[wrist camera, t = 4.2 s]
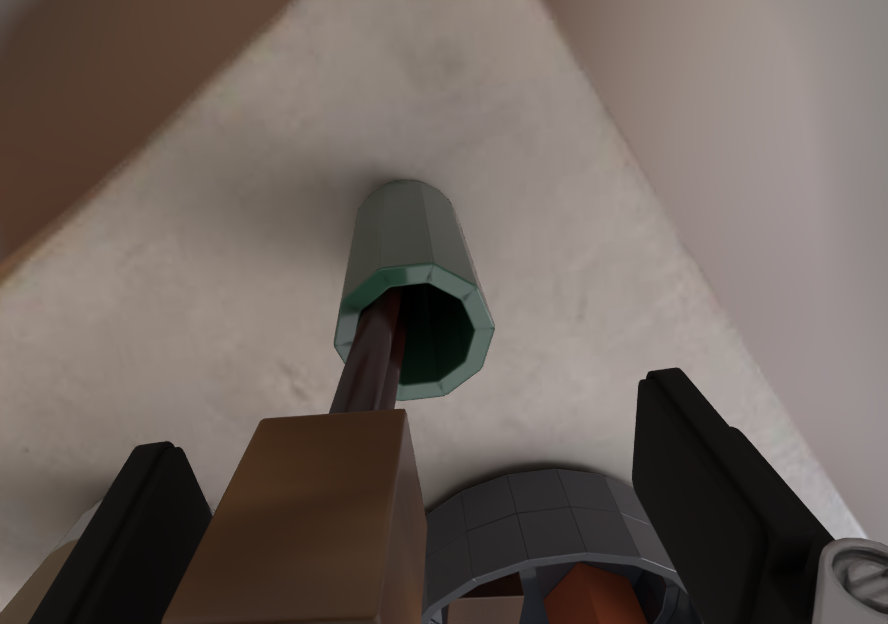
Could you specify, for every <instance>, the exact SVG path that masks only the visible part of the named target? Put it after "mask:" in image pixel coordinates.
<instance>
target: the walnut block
mask: <svg viewBox="0 0 888 624" xmlns="http://www.w3.org/2000/svg"><path fill="white" fill-rule="evenodd" d="M524 596H525V595H524V591H523V587H522V582H521V578H520V574H519V571H518V572H516V573H513V574H510V575H507V576H504V577H501V578H498V579H495V580H492V581H489V582H486V583H483V584H481V585H478V586H477V587H475V588H474V589H472V590H470V591H469V592H467V593H465V594H464V595H462V596H461V597H459V598H457V599H456V600H454V601H453V602H451V603H449V604H448V605H446V606H444V607H443V608H441V614H442V624H519V621H520V616H521V611H522V606H523V601H524Z"/></svg>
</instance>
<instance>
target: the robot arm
mask: <svg viewBox="0 0 888 624" xmlns="http://www.w3.org/2000/svg"><path fill="white" fill-rule="evenodd" d="M632 482H633V487H634V490H635V493H636V495H637V497H638V499H639V501H640V503H641V505H642V507H643V509H644V511H645V513H646V515H647V516H648V518H649V520H650V522H651V524H652V526H653V528H654V530H655V532H656V534H657V536H658V537H659V539H660V541H661V543H662V545H663V547H664V549H665V551H666V553H667V555H668V557H669V558H670V560H671V562H672V564H673V566H674V568H675V570H676V572H677V574H678V576H679V578H680V579H681V581H682V583H683V585H684V587H685V589H686V591H687V593H688V595H689V597H690V599H691V600H692V602H693V604H694V606H695V608H696V610H697V612H698V614H699V616H700V618H701V620H702V621H703V623H704V624H888V546H886V545H884V544H882V543H879V542H875V541H871V540H867V539H863V538H842V539H838V540H835V539H834V538H833V537H832V536H831V535H830V533H829V532H828V531H827V530H826V529H825V528H824V527H823V525H822V524H821V523H820V522H819V521H818V520H817V518H816V517H815V516H814V515H813V514H812V513H811V511H810V510H809V509H808V508H807V507H806V506H805V505H804V503H803V502H802V501H801V500H800V499H799V498H798V496H797V495H796V494H795V493H794V492H793V491H792V490H791V488H790V487H789V486H788V485H787V484H786V483H785V481H784V480H783V479H782V478H781V477H780V476H779V474H778V473H777V472H776V471H775V470H774V469H773V468H772V466H771V465H770V464H769V463H768V462H767V461H766V459H765V458H764V457H763V456H762V455H761V454H760V453H759V451H758V450H757V449H756V448H755V447H754V446H753V444H752V443H751V442H750V441H749V440H748V439H747V437H746V436H745V435H744V434H743V433H742V432H741V431H740V430H738V429H737V428H734V427H729V425H728V424H727V423H726V422H725V421H724V419H723V418H722V417H721V416H720V415H719V414H718V412H717V411H716V410H715V409H714V408H713V406H712V405H711V404H710V403H709V402H708V401H707V399H706V398H705V397H704V396H703V395H702V393H701V392H700V391H699V390H698V389H697V388H696V386H695V385H694V384H693V383H692V382H691V380H690V379H689V378H688V377H687V376H686V375H685V373H684V372H683V371H682V370H681V369H680V368H669V369H662V370H655V371H650V372H648V374H647V376H646V379H643V380H640V382H639V385H638V397H637V412H636V426H635V440H634V455H633V469H632ZM212 517H213V515H212V513H211V511H210V509H209V506H208V504H207V502H206V500H205V497H204V495H203V493H202V491H201V488H200V486H199V484H198V482H197V479H196V477H195V475H194V473H193V471H192V468H191V466H190V464H189V462H188V459H187V457H186V455H185V453H184V451H183V449H182V448H180V447H175V446H174V445H173V444H172V443H171V442H169V441H165V442H158V443H151V444H144V445H139V446H137V447H135V449H134V450H133V451H132V453H131V454H130V456H129V458H128V459H127V461H126V463H125V464H124V466H123V467H122V469H121V471H120V472H119V474H118V476H117V477H116V479H115V481H114V482H113V484H112V486H111V487H110V489H109V491H108V492H107V494H106V496H105V497H104V499H103V500H102V502H101V504H100V505H99V507H98V509H97V510H96V512H95V514H94V515H93V517H92V519H91V520H90V522H89V524H88V525H87V527H86V528H85V530H84V532H83V533H82V535H81V537H80V538H79V540H78V542H77V543H76V545H75V547H74V548H73V550H72V552H71V553H70V555H69V556H68V558H67V560H66V561H65V563H64V565H63V566H62V568H61V570H60V571H59V573H58V575H57V576H56V578H55V580H54V581H53V583H52V584H51V586H50V588H49V589H48V591H47V593H46V594H45V596H44V598H43V599H42V601H41V603H40V604H39V606H38V608H37V609H36V611H35V613H34V614H33V616H32V617H31V619H30V621H29V622H28V624H161V622H162V618H163V616H164V614H165V612H166V610H167V608H168V606H169V604H170V602H171V600H172V598H173V596H174V594H175V592H176V590H177V588H178V586H179V584H180V582H181V580H182V578H183V576H184V574H185V572H186V570H187V568H188V566H189V564H190V562H191V560H192V558H193V556H194V554H195V551H196V549H197V547H198V545H199V543H200V541H201V539H202V537H203V535H204V533H205V531H206V529H207V527H208V525H209V523H210V521H211V519H212Z"/></svg>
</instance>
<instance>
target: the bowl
mask: <svg viewBox="0 0 888 624" xmlns="http://www.w3.org/2000/svg"><path fill="white" fill-rule="evenodd" d="M425 516H426V522H427V538H426V553H425V568H424V583H423V597H422V612H421V624H442V614H441V608H443V607H444V606H446V605H448V604H449V603H451V602H453V601H454V600H456V599H457V598H459V597H461V596H462V595H464V594H465V593H467V592H469V591H470V590H472V589H474V588H475V587H477V586H478V585H481V584H483V583H486V582H489V581H492V580H495V579H498V578H501V577H504V576H507V575H510V574H513V573H516V572H518V571H519V574H520V578H521V582H522V587H523V591H524V595H525V596H524V601H523V606H522V611H521V616H520V621H519V624H549V621H548V617H547V613H546V610H545V606H544V602H543V600H544V599H545V598H546V597H547V596H548V594H549V593H550V592H551V591H552V590H553V589H554V588H555V587H556V586H557V585H558V583H559V582H560V581H561V580H562V579H563V578H564V577H565V576H566V575H567V574H568V573H569V571H570V570H571V569H572V568H573V567H574V566H575V565H576V564H577V563H578V562H580V563H583V564H586V565H589V566H592V567H595V568H599V569H602V570H605V571H608V572H611V573H614V574H617V575H621V576H624V577H627V578H628V579H629V581H630V583H631V586H632V588H633V590H634V593H635V595H636V597H637V600H638V602H639V605H640V607H641V609H642V612H643V614H644V616H645V619H646V621H647V623H648V624H704V623H703V621H702V620H701V618H700V616H699V614H698V612H697V610H696V608H695V606H694V604H693V602H692V600H691V599H690V597H689V595H688V593H687V591H686V589H685V587H684V585H683V583H682V581H681V579H680V578H679V576H678V574H677V572H676V570H675V568H674V566H673V564H672V562H671V560H670V558H669V557H668V555H667V553H666V551H665V549H664V547H663V545H662V543H661V541H660V539H659V537H658V536H657V534H656V532H655V530H654V528H653V526H652V524H651V522H650V520H649V518H648V516H647V515H646V513H645V511H644V509H643V507H642V505H641V503H640V501H639V499H638V497H637V495H636V493H635V490H634V488H631V487H629V486H627V485H625V484H622V483H620V482H618V481H616V480H613V479H611V478H609V477H607V476H604V475H601V474H597V473H589V472H581V471H573V470H565V469H555V468H554V469H546V470H537V471H529V472H521V473H512V474H507V475H503V476H501V477H498V478H495V479H493V480H490V481H487V482H484V483H482V484H479V485H476V486H473V487H471V488H468V489H465V490H462V491H461V492H459V493H457V494H456V495H454V496H453V497H451V498H450V499H448V500H447V501H445V502H444V503H443V504H441V505H440V506H438V507H437V508H435V509H434V510H432V511H431V512H429V513H428V514H426V515H425Z"/></svg>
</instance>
